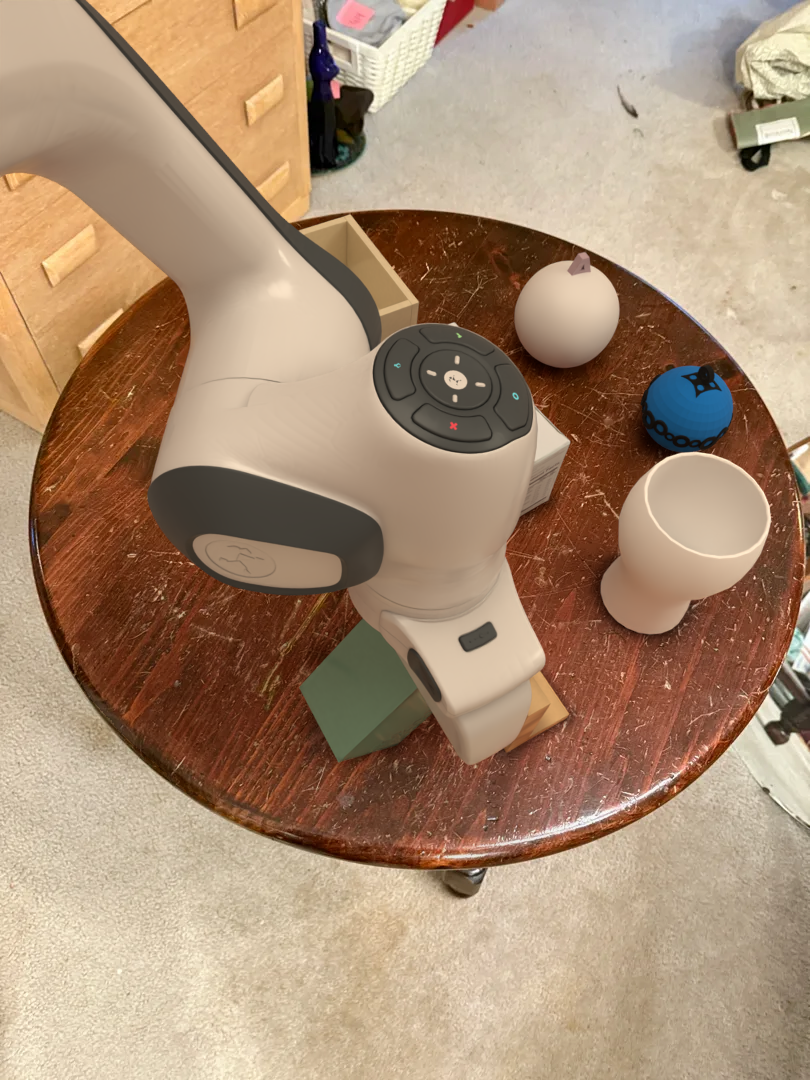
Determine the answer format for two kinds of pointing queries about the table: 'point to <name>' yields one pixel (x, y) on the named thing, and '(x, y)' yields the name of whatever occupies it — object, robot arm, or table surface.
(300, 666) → the table surface
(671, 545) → the cup
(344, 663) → the green rectangular container
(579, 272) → the ornament
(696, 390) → the ornament
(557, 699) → the stepped wooden molding
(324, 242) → the open box
